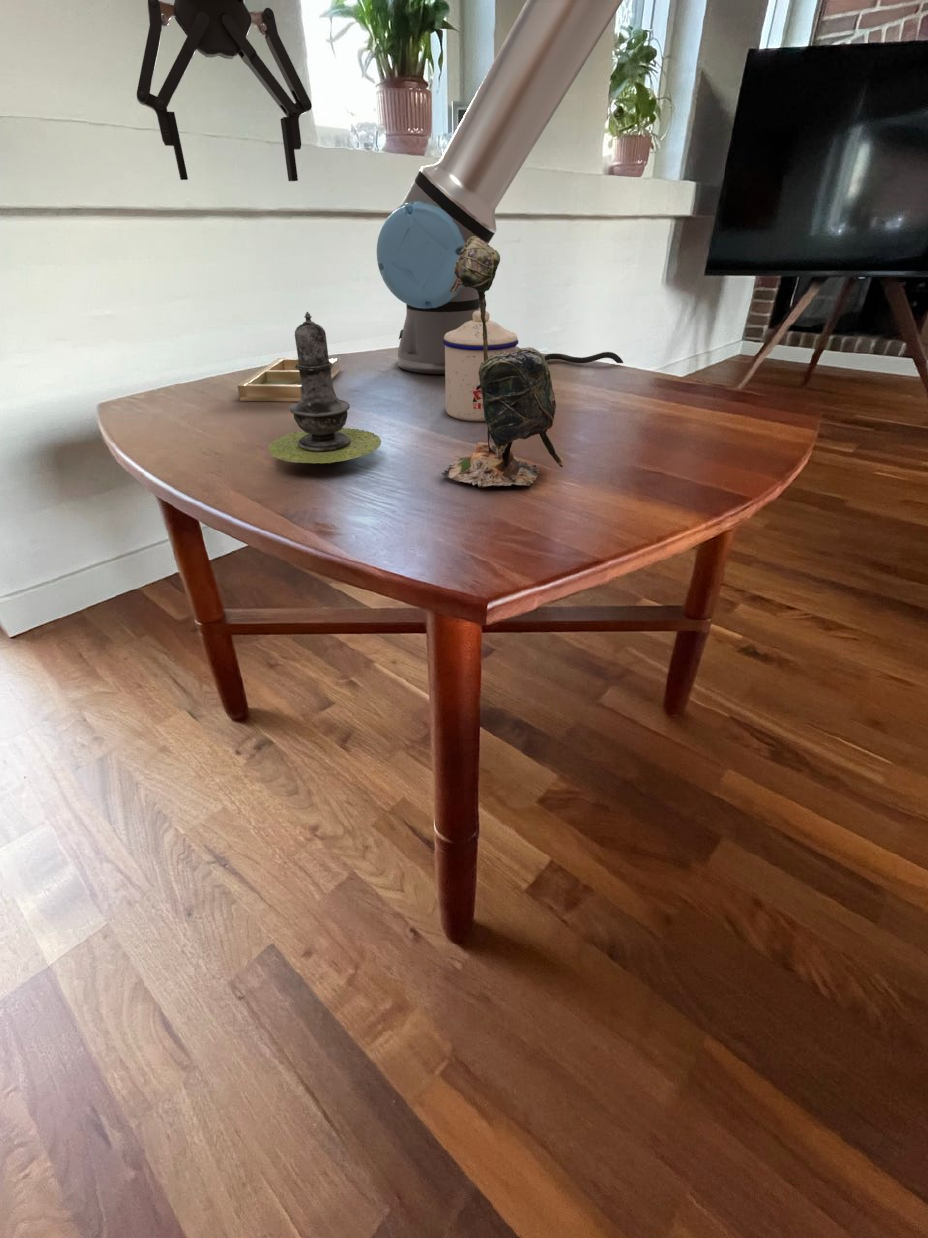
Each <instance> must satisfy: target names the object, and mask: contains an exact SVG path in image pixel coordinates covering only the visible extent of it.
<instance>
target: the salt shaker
mask: <svg viewBox="0 0 928 1238" xmlns="http://www.w3.org/2000/svg"><path fill="white" fill-rule="evenodd" d="M303 317H304V318H305V321H303V322H302V324H299V325H298V326H297V327H296V328H295V330H294V340H295V346H296V354H297V358H298V361H299V363H298V364H297V365H296V366H295V368H296V369H298V370H299V374H300V381H301V387H302V389H301V399H300V400H299V402H294V403H293V404H291V405H290V406H289V409H288V410H289V413H290V414H292V415H293V420H294V421H295V424H297V426H298V428H299V429H300V430H301V431H304V432H306V433H309V434H307V435H305V436H304V437H302V438H301V439H300V440H299V441H298V446H299V447H301V448H302V449H306V450H312V451H327V450H334V449H339V448H342V447H345V446H347V445H348V444H349V443H350V441H351V439H350V438H349V437H348V436H346V435H345V434H343V433H340V432H338V431H340V430H341V429H342V428H344V426H345V425H346V423H347V420H348V415H349V414H348V411H349V410H350V408H351V405H350V403H349V402H348V401H346V400H343V399H340V398H339V397H337V395H336V392H335V389H334V385H333V379H332V376H331V368H332V367H333V364H332V363H331V362H329V359H330V358H329V350H328V343H327V342H328V341H327V336H326V335H327V334H326V330H325V329H324V327H323V326H321V325H320V324H318V323H315V322H314V321H312V315H311V313H309V311H306V313H305V314H304V316H303Z"/></svg>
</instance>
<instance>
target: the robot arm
mask: <svg viewBox="0 0 928 1238" xmlns="http://www.w3.org/2000/svg"><path fill="white" fill-rule="evenodd" d="M623 1H624V0H526V1H525V2H524V3H523V6H522V8H521V9H520V12H519V13H518V16H517V17H516V19H515V20H514V23H513V25H512V26H511V28H510V30H509V32H508V33H507V35H506V37H505V39H504V41H503V43H502V45H501V47H500V49H499V50H498V52H497V53H496V56H495V57H494V60H493V62H492V63H491V65H490V67H489V69H488V71H487V72H486V74H485V76H484V78H483V80H482V82H481V84H480V86H479V87H478V89H477V91H476V93H475V95H474V96H473V98H472V100H471V102H470V104H469V106H468V107H467V109H466V111H465V113H464V115H463V117H462V119H461V121H460V122H459V124H458V126H457V127H456V129H455V131H454V134H453V135H452V137H451V139H450V141H449V142H448V144H447V146H446V148H445V150H444V152H443V153H442V155H441V157H440V159H439V160H438V161H437V162H436V163H432V164H427V165H423V166H421V167H420V169H419V171H418V172H417V174H416V176H415V178H414V180H413V182H412V183H411V186H410V187H409V189H408V191H407V193H406V195H405V197H404V198H403V200H402V201H401V204H400V205H398V206H397V208H395V210H393V211H391V213H390V215H389V216H387V217H386V219H385V220H384V222H383V224H382V226H381V229H380V231H379V234H378V237H377V242H376V262H377V267H378V271H379V273H380V277H381V278H382V281H383V282H384V284H385V286H386V287H387V289H388V290H389V291H390V292H391V294H392V295H394V296H395V298H397V299H398V300H399V301H401V302H402V303H404V304H405V306H406V307H405V308H406V315H405V320H404V324H403V328H402V329H401V330H400V331H399V336H398V340H399V345H398V349H397V366H398V367H399V368H401V369H402V370H403V371H404V370H405V371H407V372H411V373H417V374H425V375H445V345H444V344H443V340H444V336H445V334H446V333H447V332H450V331H453V330H455V329H457V328H459V327H460V326H461V325H463V324H464V323H466V322H468V321H472V320H473V313H474V312H475V311H480V306H479V295H478V291H477V290H476V289H474V288H471V287H465V286H464V285H460V286H458V288H457V290H456V291H455V292H451V291H450V289H451V287H452V286H453V285H454V282H455V280H456V274H455V268H454V267H456V261H457V260H458V258H460V256H461V252H462V250H463V248H464V245H466V243H467V240H468V239H469V238H471V237H472V236H477V237H479V239H481V240H482V241H483V242H484V243H485V244H487V245H490V244H489V243H490V242H491V240H492V239H493V237H494V235H495V234H496V232H497V223H496V222H497V221H496V209H497V208H498V206H499V204H500V203H501V201H502V199H503V197H504V196H505V194H506V193H507V192H508V189H509V188H510V186H511V185H512V183H513V181H514V179H516V176H517V174H518V173H519V171H520V170H521V168H522V167H523V165H524V164H525V162H526V160H527V158H528V157H529V155H530V153H531V152H532V150H533V148H534V147H535V145H536V143H537V142H538V140H539V139H540V138H541V136H542V134H543V132H544V130H545V129H546V128H547V126H548V124H549V123H550V120H551V119H552V118H553V116H554V114H555V112H556V111H557V109H558V108H559V106H560V104H561V103H562V101H563V99H564V98H565V96H566V95H567V93H568V91H569V90H570V88H571V87H572V85H573V84H574V81H575V80H576V78H578V75H579V74H580V72H581V70H582V69H583V67H584V65H585V64H586V62H587V60H588V59H589V57H590V56H591V54H592V52H593V51H594V49H595V47H596V46H597V44H598V42H599V41H600V39H601V38H602V36H603V34H604V32H605V31H606V30H607V27H608V26H609V24H610V23H611V21H612V20H613V18H614V17H615V15H616V13H617V11H618V9H619V8H620V6H621V5H622V3H623ZM147 13H148V20H149V26H148V31H147V37H146V42H145V48H144V52H143V58H142V63H141V69H140V72H139V73H140V74H139V78H138V83H137V84H138V85H137V90H136V99H137V102H138V103H139V104H140V105H142V106H145V107H146V108H147V107H148V108H150V109H152V110H153V111H154V113H155V114H156V117H157V122H158V126H159V131H160V135H161V140H162V142H163V144H164V147H173V151H174V155H175V161H176V166H177V170H178V175H179V179H180V181H188V180H189V177H188V171H187V167H186V163H185V162H186V161H185V158H184V154H183V153H184V152H183V148H182V147H183V146H182V143H181V137H180V133H179V129H178V123H177V118H176V114H175V111H168V106H169V104H170V103H171V100H172V98H173V97H174V95H175V92H176V91H177V89H178V88H179V87H178V86H179V85H180V83H181V81H182V79H183V77H184V75H185V73H186V71H187V69H188V67H189V66H190V64H191V62H192V60H193V58H194V55H195V54H196V52H198V53H200V54H201V55H202V56H204V57H205V58H210V59H212V58H215V57H221V58H223V59H225V60H226V59H227V60H233V59H235V58H236V57H238V56H239V58H240V59H241V61H242V62H243V63H244V65H246V66H247V67H248V68H249V70H250V71H251V72H252V73H253V75H254V76H255V78H256V79H257V80H258V82H259V83H260V84H261V85H262V86H263V87H264V89H265V90H266V92H267V93H268V94H269V95H270V97H271V98H272V100H274V102H275V104H276V105H277V106H278V107H279V108H280V110H281V111H282V112H283V114H284V115H285V116H283V117H282V118H280V128H281V134H282V142H283V150H284V158H285V164H286V173H287V180H288V182H299V178H298V170H297V162H296V154H295V151H299V150H301V148H302V138H301V128H300V117H301V115H303V114H306V113H307V112H309V111H311V110H312V107H313V104H312V101H311V99H310V97H309V95H308V93H307V91H306V88H305V87H304V85H303V83H302V80H301V78H300V76H299V74H298V72H297V70H296V68H295V66H294V64H293V62H292V59H291V58H290V55H289V54H288V51H287V49H286V47H285V45H284V43H283V41H282V38H281V37H280V35H279V31H278V27H277V22H276V18H275V13H274V11H273V9H271V8H270V7H265V8H264V9H263V10H258V11H256V10H255V11H249V9H248V7H247V5H246V0H174V2H173V3H170V2H166V1H162V0H147ZM172 18H173V19H175V21H176V23H177V24H178V25H179V27H180V28H181V30H182V31H183V32H184V35H186V38H185V40H184V42H183V43H182V46H181V49H180V51H179V52H178V54H177V56H176V59H175V60H174V62H173V64H172V66H171V68H170V70H169V72H168V74H167V76H166V78H165V80H164V82H163V84H162V86H161V87H160V90H159V92H158V94H157V96H156V95H154V94H152V93H151V89H152V83H153V79H154V73H155V70H156V69H155V68H156V64H157V59H158V53H159V50H160V44H161V39H162V31H163V29H166V28H168V27H169V25H170V20H171V19H172ZM252 26H253V27H254V28H255V29H256V30H257V32H258V33H257V34H259V36H260V37H263V38H264V39H265V40H264V41H265V43H266V45H267V47H268V50H269V51H270V53H271V55H272V58H273V60H274V61H275V63H276V65H277V67H278V70H279V72H280V73H281V75H282V78H283V80H284V81H285V84H286V86H287V88H288V89H289V93H290V94H291V96H292V98H291V97H290V95H289V94H288V93H287V92H286V90H285V89H284V88H283V86H282V85H281V83H279V81H278V79H276V77H275V76H274V74H273V73H272V72H271V70H270V69H269V68H268V66H267V65H266V64H265V63H264V61H263V60H262V59H261V57H260V56H259V54H258V53H257V51H256V49H255V48H254V46H253V45H252V43H251V42H250V41H249V39H248V38H247V36H248V34H249V31H250V29H251V27H252ZM292 99H293V100H294V101H293V100H292ZM294 102H295V103H294ZM543 355H544V357H545V361H546V362H547V361H549V360H560V361H565V362H568V363H572V364H589V363H593V362H597V361H598V360H602V359H611V360H612V361H614V362H615V363H616V364H624V361H623V359H622V357H620V355H618V354H617V353H615V352H612V351H602V352H599V353H596V354H592V355H588V356H582V357H581V356H579V357H578V356H573V355H570V354H569V355H568V354H565V353H556V352H555V353H547V354H543Z"/></svg>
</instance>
